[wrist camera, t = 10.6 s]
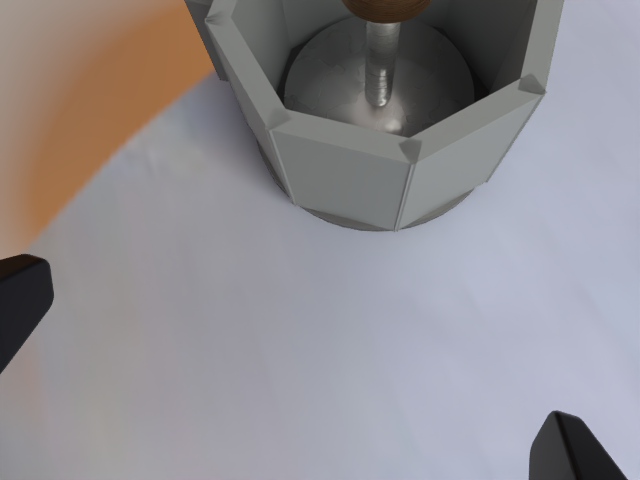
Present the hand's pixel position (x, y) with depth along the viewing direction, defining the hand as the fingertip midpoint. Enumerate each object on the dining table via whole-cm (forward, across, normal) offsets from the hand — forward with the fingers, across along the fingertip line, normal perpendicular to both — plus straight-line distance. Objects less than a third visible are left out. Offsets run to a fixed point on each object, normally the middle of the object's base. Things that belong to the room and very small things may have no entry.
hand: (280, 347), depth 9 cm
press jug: (+18, +1, +1) cm, 18 cm away
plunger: (+17, +1, 0) cm, 17 cm away
